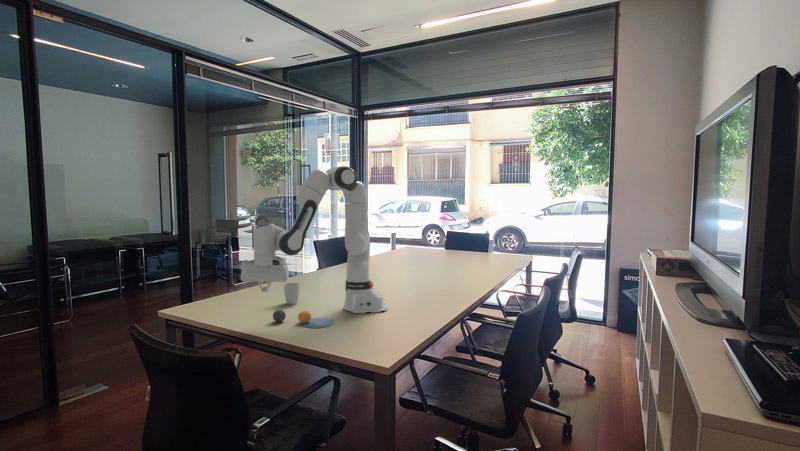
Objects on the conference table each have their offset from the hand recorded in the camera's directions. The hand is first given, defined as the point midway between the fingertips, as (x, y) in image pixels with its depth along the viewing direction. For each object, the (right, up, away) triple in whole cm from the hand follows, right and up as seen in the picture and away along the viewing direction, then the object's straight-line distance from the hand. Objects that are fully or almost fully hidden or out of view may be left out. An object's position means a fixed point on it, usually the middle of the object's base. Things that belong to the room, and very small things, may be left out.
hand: (265, 291), depth 173 cm
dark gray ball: (+6, -11, +2) cm, 13 cm away
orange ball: (+17, -12, +1) cm, 21 cm away
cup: (+3, -12, +33) cm, 35 cm away
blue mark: (+23, -14, +2) cm, 27 cm away
